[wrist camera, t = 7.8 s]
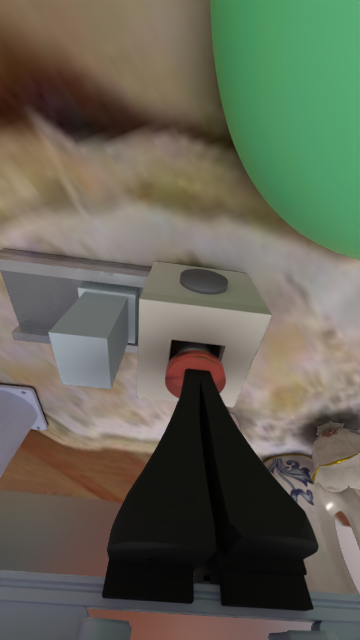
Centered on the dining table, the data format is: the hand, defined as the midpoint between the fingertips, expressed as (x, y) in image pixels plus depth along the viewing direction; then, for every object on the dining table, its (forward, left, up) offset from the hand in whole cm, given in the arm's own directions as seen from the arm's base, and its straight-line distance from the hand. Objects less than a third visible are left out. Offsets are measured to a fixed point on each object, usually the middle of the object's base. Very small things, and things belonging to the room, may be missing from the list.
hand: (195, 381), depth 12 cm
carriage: (-7, 0, -6) cm, 9 cm away
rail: (-9, 0, -8) cm, 12 cm away
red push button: (0, 0, -5) cm, 5 cm away
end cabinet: (0, 0, -8) cm, 8 cm away
